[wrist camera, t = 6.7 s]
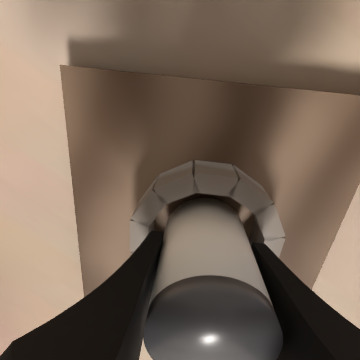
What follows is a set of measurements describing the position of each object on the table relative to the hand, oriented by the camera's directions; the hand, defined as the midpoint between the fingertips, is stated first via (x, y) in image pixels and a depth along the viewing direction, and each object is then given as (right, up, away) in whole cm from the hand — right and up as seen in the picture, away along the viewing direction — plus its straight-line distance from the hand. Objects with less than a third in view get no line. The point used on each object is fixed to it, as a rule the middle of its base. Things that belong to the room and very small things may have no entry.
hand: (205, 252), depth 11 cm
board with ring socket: (0, +1, +4) cm, 4 cm away
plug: (0, +1, +2) cm, 2 cm away
